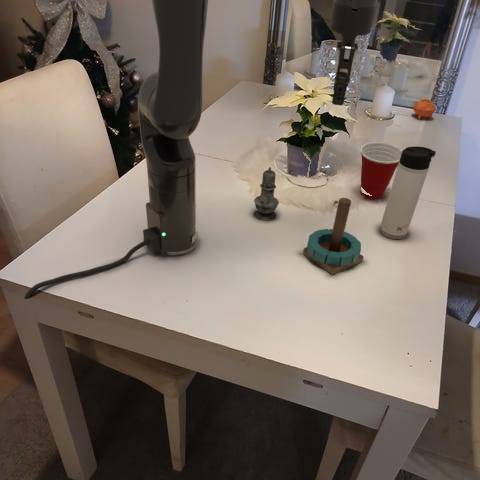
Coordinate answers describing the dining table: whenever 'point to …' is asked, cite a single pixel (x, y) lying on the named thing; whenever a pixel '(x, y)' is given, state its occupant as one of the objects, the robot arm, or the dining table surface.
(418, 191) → the travel mug
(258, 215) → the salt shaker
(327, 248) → the post
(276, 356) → the dining table surface
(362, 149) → the plastic cup
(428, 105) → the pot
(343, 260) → the ring
